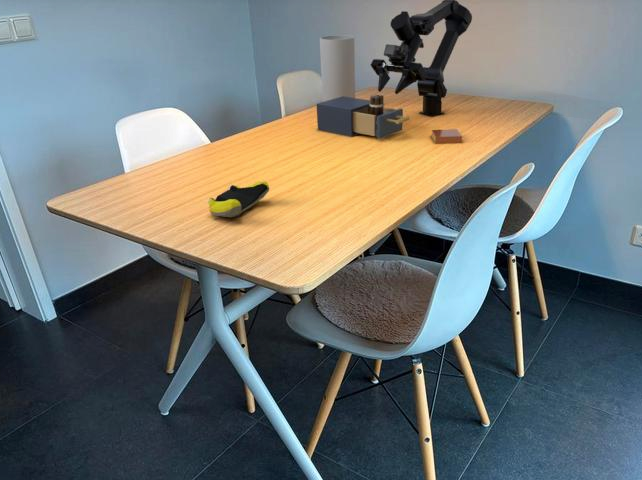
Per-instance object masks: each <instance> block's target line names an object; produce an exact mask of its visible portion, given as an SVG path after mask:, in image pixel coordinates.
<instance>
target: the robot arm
mask: <svg viewBox="0 0 642 480" xmlns="http://www.w3.org/2000/svg"><path fill="white" fill-rule="evenodd" d="M443 20H444V24H445V32H444V34H443V37H442V39H441V41H440V43H439V46H438V48H437V50H436V52H435V55H434V57H433V59H432V61H431V63H430V65H429V67H425V66H423V64H422V62H416V60H417V59H416V55H417V53H418V50H419V49H424V48H425V44H424V41H423V40H424V39H423V38H421V36H429V35H430V34H431V33H432V32H433V31H434V29H435V25H437V24H438V23H440V22H441V21H443ZM472 20H473V15H472V13H471V11H470V9H468V8H467V7H466V6H464V5H463V4H460V3H459V1H458V0H442V1H441V2H440V3H439V4H437V5H435V6H434V7H432V8H431V9H429V10H427V11H426V12H422V13H417V14H413V15H411V16H410V14H409V12H408V11H405V10H402V11H401V12H400V13H399V14H397V15H396V16H394V17H393V18H392V19H391V21H390V27H391V29H392V31H393V33H394V34H395V36H396V38H397V40H399V41H401V44H400V45H397V44H385V47H384V52H383V56H384V57H387V58H388V62H389V63H390V64H388V63H387V62H386V60H385V59H382V58H373V59H372V60H371V63H370V67H371V68H372V70H373V71H374V73H375V75H376V76H378V85H377V91H378V92H379V93H381V92H382V90H383V89H384V88H385V87H386V86H387V84H388V82H389V81H390V80H391V77H390V75H389V74H390V72H391V73H398V74H401V77H400V78H399V81H398V83H397V85H396V88H395V90H394V94H395V95H398V94H399V93H401V92H402V91H404V90H405V89H407V88H408V87H409V86H411V85H412V84H413V83H416V86H417V92H418V96H419V97H422V110H421V111H419V113H418V114H422V115H424V116H428V117H433V116H438V115H444V114H445V112H444V111H443V110H442V108H443V107H442V106H443V101H442V99H445V97H446V96H447V93H448V89H447V87H446V86H445V84H444V83H445V77H444V71H445V69H446V66H447V65H448V62H449V60H450V57H451V55H452V53H453V50H454V48H455V47H456V44H457V41H458V40H459V37H461V36H462V35H463V34H464V33H465V32H466V31H467V30H468V28H469V27H470V25H471V23H472V22H473V21H472Z"/></svg>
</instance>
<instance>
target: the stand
mask: <svg viewBox="0 0 642 480" xmlns="http://www.w3.org/2000/svg"><path fill="white" fill-rule="evenodd" d="M431 138H432V140H433V142H434V143H435V144H457V143H458V144H459V143H460V144H462V143H463V141H462V139H463V136H462V133H460V131H459V130H458V128H457V129H455V128H454V129H453V128H452V129H450V128H449V129H431Z"/></svg>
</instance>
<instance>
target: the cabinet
mask: <svg viewBox="0 0 642 480" xmlns="http://www.w3.org/2000/svg"><path fill="white" fill-rule="evenodd" d="M369 104H370V99H364V98H357V97H355V98H351V97H344V96H342V97H339V98H335V99H332V100H328V101H325V102H323V101H322V102H317V103H316V123H317V131H321V132H326V133H330V134H336V135H341V136H346V137H349V138H350V137H355V136H357V135H360V134H361V133H356V132H353V114H352V112H353V111H356V110H359V109H362V108H365V107H369Z"/></svg>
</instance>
